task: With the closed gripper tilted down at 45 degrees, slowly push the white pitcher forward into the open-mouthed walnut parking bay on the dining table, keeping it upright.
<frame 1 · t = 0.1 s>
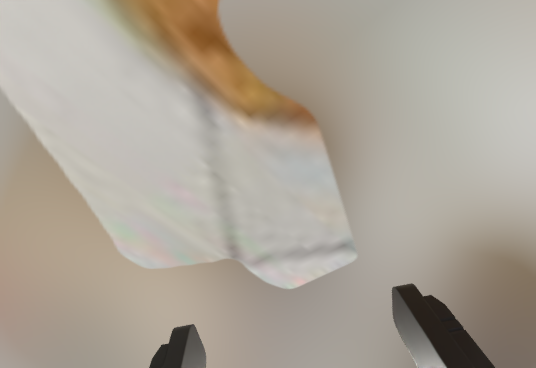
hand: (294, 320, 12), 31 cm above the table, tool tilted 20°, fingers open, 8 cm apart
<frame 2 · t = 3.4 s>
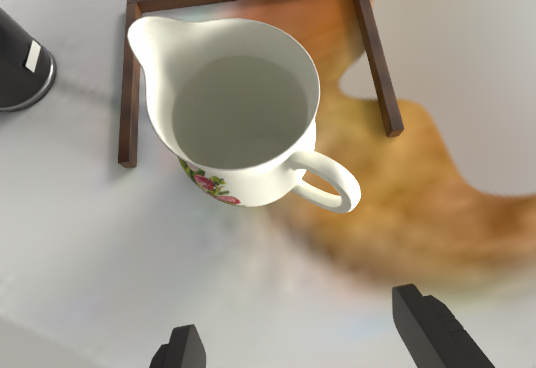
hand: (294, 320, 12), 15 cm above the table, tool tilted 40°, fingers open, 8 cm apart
pitcher: (262, 172, 30), on the table
bay: (253, 87, 32), on the table
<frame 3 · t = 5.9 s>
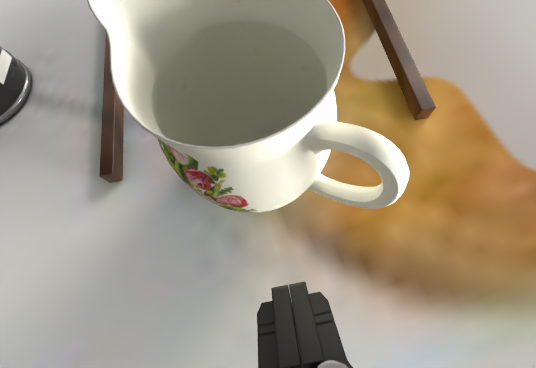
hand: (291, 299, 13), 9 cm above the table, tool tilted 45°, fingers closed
pitcher: (270, 173, 25), on the table
bay: (252, 80, 28), on the table
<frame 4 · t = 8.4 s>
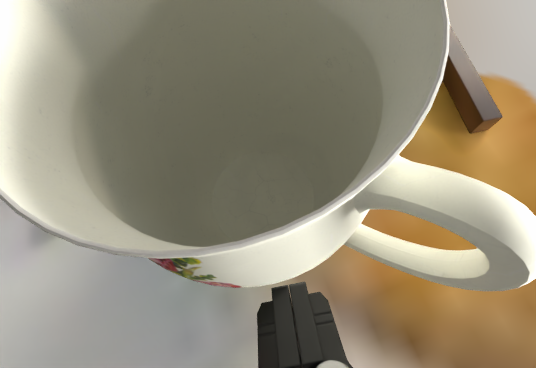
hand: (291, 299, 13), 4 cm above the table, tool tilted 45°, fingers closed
pitcher: (275, 206, 18), on the table, touching gripper
bay: (250, 80, 22), on the table
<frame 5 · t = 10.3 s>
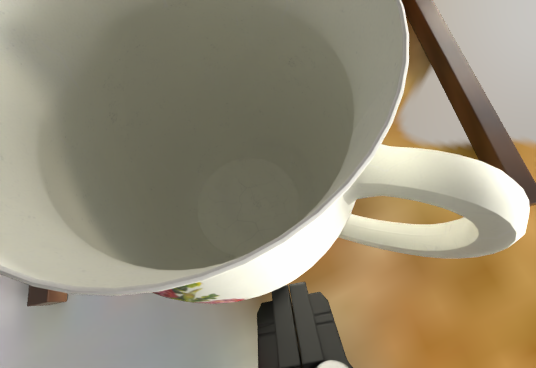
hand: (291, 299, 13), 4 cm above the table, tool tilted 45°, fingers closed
pitcher: (262, 211, 18), on the table, touching gripper
bay: (259, 140, 20), on the table
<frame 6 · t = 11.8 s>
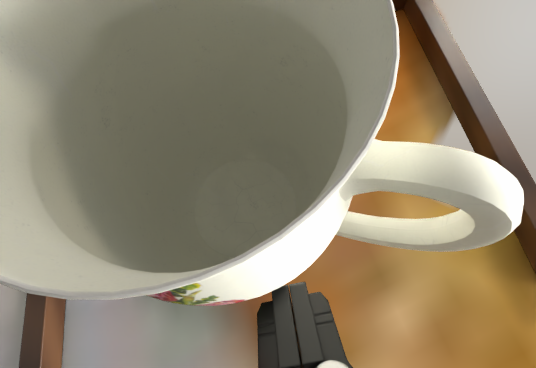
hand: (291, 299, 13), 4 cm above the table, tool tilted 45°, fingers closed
pitcher: (260, 212, 18), on the table, touching gripper
bay: (269, 196, 18), on the table
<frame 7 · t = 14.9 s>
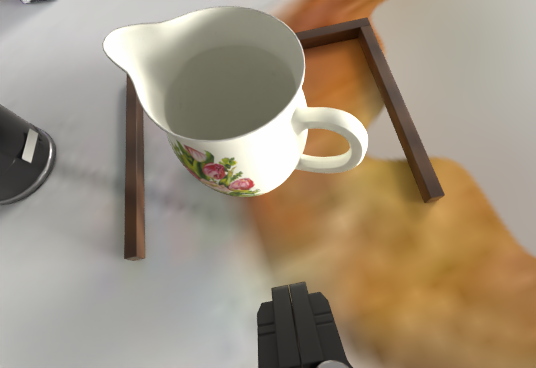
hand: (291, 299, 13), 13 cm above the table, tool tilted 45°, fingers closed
pitcher: (261, 164, 30), on the table
bay: (267, 155, 30), on the table
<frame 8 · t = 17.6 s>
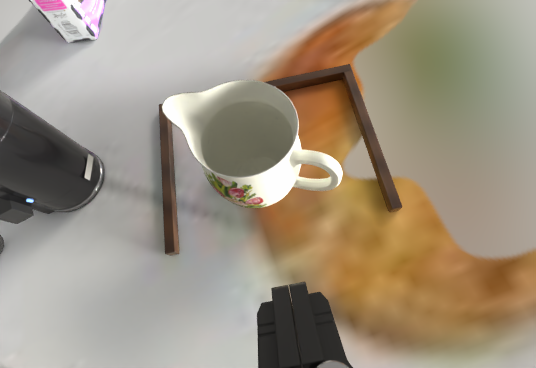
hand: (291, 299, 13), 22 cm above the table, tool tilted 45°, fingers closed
pitcher: (266, 181, 39), on the table
candy box: (90, 15, 54), on the table
bay: (271, 175, 39), on the table
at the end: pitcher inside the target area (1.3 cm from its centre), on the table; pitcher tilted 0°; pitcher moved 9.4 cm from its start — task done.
